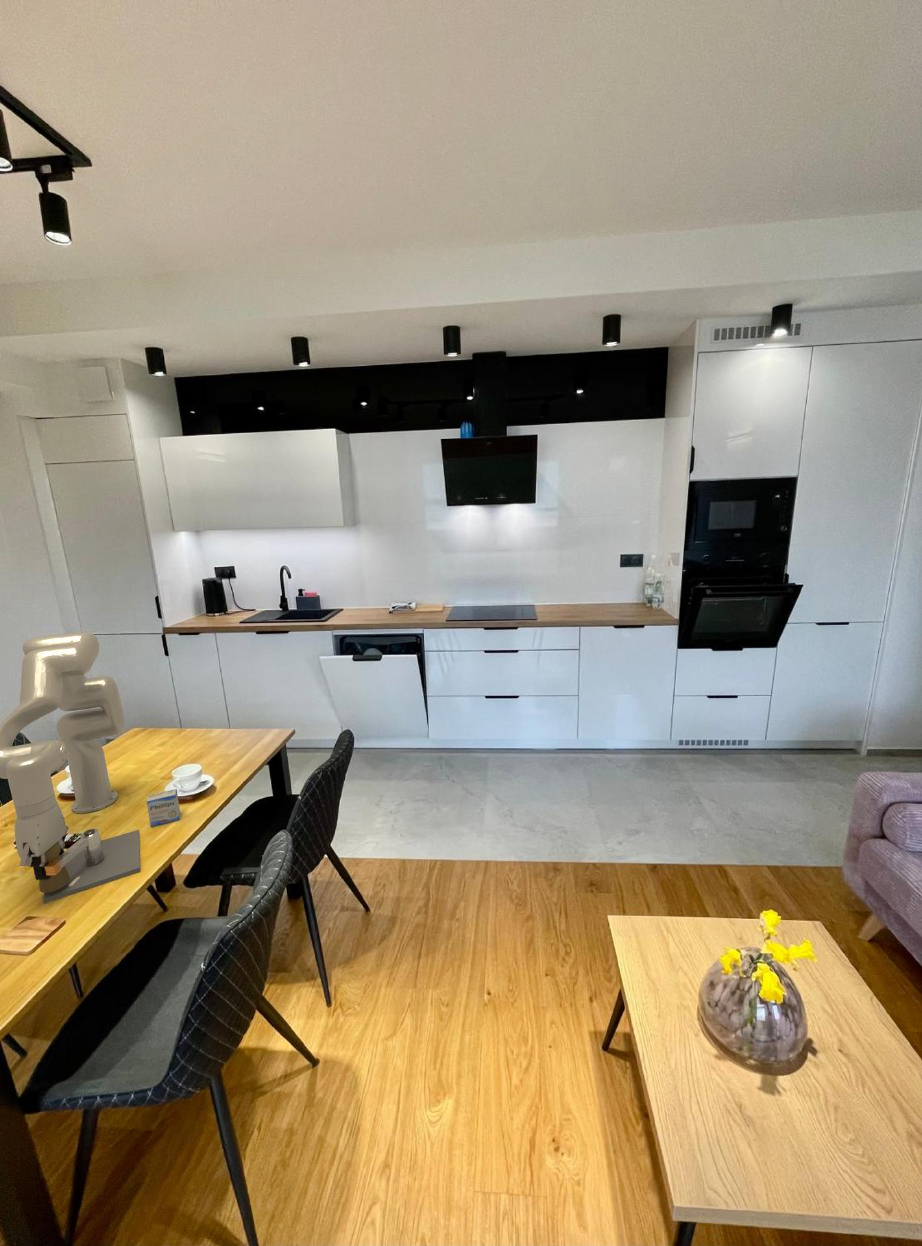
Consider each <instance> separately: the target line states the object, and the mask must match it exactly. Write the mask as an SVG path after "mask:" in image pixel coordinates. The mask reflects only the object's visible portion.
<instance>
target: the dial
mask: <svg viewBox="0 0 922 1246" xmlns="http://www.w3.org/2000/svg"><path fill="white" fill-rule="evenodd" d="M101 841H102V839H101V834H100V830H99V829H98V828H90V829H86V830H85V831H84V832H83V833H81V834H80V838H79V839H78V840H77V841H76V842H75V843H74V844H72V845H71V846H70V847H69V848H67V849H66V850H64V853H63V854H61V855H60V856H59V857H58V858H57V859H56V860H55V861H53V862H50V863H48V865H47V866H45V871H46V875H57V874H58V873H59V872H60V871H61V868H62V867H64V866H65V865H66V864H67V863H68V862H69V861H71V860H72V859H73V858H74V857H75V856H76V855H77V854H79V853H80V852H81V851H82V850H83V851H84V856H85V861H86V864H87V865H94V864H97V863H99V862H101V861H102V860H103V859H104V853H103V848H102V844H101Z"/></svg>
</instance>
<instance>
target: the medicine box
mask: <svg viewBox="0 0 922 1246" xmlns="http://www.w3.org/2000/svg"><path fill="white" fill-rule="evenodd" d="M146 807H147V813H148V818H149V824H150V828H155V827H159V826H163V825H167V824H169V823H170V824H171V823H173V822H178V821H180V820H181V810H180V802H179V796H178V790H177V788H174V789H170V790H167V791H162V792H157V793H154V794H150V795H147V796H146Z"/></svg>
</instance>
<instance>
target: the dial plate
mask: <svg viewBox="0 0 922 1246" xmlns="http://www.w3.org/2000/svg"><path fill="white" fill-rule="evenodd" d="M101 844H102V848H103V853H104V859H103V860H102V861H101V862H99V863H97V864H94V865H87V864H86V861H85V856H84V851H83V850H82V851H81V852H80V853H79V854H77V855H76V856H75V857H74V858H73V859H72V860H71V861H69V862H68V863H67V864H66V865H65V868H66V870H67V872H68V874H69V876H70V881H69V882H68V883H67V884H66V885H65V886H64V887H62V888H60V889H58V890H56V891H53V892H50V893H43V897H42V903H43V904H44V905H45V904H47V903H48V904H49V903H50V902H53V901H56V900H59V899H62V898H66V897H68V896H71V895H74V894H77V893H80V892H84V891H85V890H86V891H87V890H90V889H92V888H95V887H99V886H102V885H105V884H107V883H110V882H113V881H116V880H119V879H122V878H125V877H128V876H131V875H135V874H137V873H140V872H141V843H140V829H136V830H133V831H132V830H131V831H130V832H125V833H123V834H119V835H116V836H115V835H114V836H112V837H109V838H106V839H101Z"/></svg>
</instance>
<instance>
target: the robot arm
mask: <svg viewBox="0 0 922 1246" xmlns="http://www.w3.org/2000/svg"><path fill="white" fill-rule="evenodd" d="M22 650H23V651H22V652H23V653H24V657H23V658H22V665H21V678H20V679H21V680H20V694H19V695H20V696H19V705H18V706H17V707H16V708H15V709H14V710H13V711H11V712H10V714H9V715H7V717H6V718H5V719H4V720H3V721H2V723H1V724H0V779H5V780H6V779H7V781H8V786H9V789H10V794H11V798H12V802H13V806H14V810H15V813H16V818H15V820H14V840H15V845H16V846H15V847H16V851H17V855H18V857H19V858H20V862H19V866H20V867H30V868H32V869H33V873H34V878H35V880H37V881H39V880H47V879H49V878H51V875H46V871H45V866H47V865H48V863H46V864H45V852H46V851H47V850H48V849H50V848H51V847H52V846H53V845H54V844H55V843H56V842H57V843H59V844H60V848H61V850H60V853H59V855H61V854H63V853H64V852H65V847H66V844H65V840H66V837H67V834H68V831H69V826H68V825H67V824H66V820H65V817H64V814H63V811H62V808H61V806H60V804H59V803H58V801H57V797H56V793H55V789H54V785H53V779H52V774H54V773H55V772H57V771H58V770H59V769H60V768H61V767H63V765H64V764H66V762H67V764H68V770H69V774H70V779H71V784H72V787H73V792H74V793H73V794H74V799H75V800H74V801H73V802H72V804H71V805H70V809H71V811H72V812H73V813H75V814H88V813H93V812H97V811H100V810H102V809H105V808H107V807H109V806H110V805H112V804H113V803H114V802H116V801H117V799H118V798H119V793H118V791H116V790H113V789H112V788H111V781H110V776H109V772H108V766H107V762H106V761H107V760H106V756H105V750H104V748H103V747H102V745H101V744H100V743H99V742H98V741H96V740H97V739H103V738H108V737H109V738H110V737H114V736H118V735H120V734H121V733H123V731H124V730H125V728H126V719H125V714H124V710H123V706H122V701H121V700H122V699H121V697H120V696H121V695H120V693H119V689H118V685H117V683H116V681H115V680H114V679H113V678H112V677H110V676H106V675H105V676H104V675H102V676H94V677H86V675H85V674H87V673H88V672H89V671H90V670H91V669H92V667H93V665H94V663H95V662H96V660H97V658H98V656H99V652H100V642H99V639H98V638H97V636H96V635H95V634H94V633H91V632H89V631H88V632H87V631H86V632H85V631H84V632H82V631H81V632H73V633H72V632H70V633H63V634H62V633H61V634H59V633H58V634H50V635H42V636H34V637H32V638H31V637H30V638H28V639H27V640H25V641H24V642H23V645H22ZM57 709H59V710H61V711H63V712H68V713H66V714H64V715H62V716H61V717H59V719H58V720H57V723H56V731H57V735H58V736H59V739H60V740H58V739H51V740H44V741H39V742H32V743H24V744H20V745H14V746H13V743H14V742H15V739H16V737H17V736H18V734H20V732H21V731H22V730H24V728H26V727H27V726H28V725H30V724H32V723H33V722H35V721H38V720H39V719H40V718H43V717H45V716H47V715H48V714H50V713H52V712H54V711H56V710H57ZM36 857H39V861H38V860H36Z"/></svg>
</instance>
